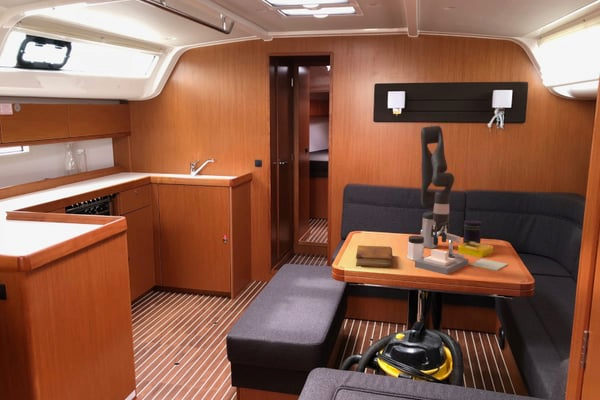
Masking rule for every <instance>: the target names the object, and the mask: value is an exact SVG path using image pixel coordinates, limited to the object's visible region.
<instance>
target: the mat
mask: <svg viewBox="0 0 600 400" xmlns="http://www.w3.org/2000/svg"><path fill="white" fill-rule="evenodd" d="M469 266H471V267H475V268H479V269H480V268H481V269H486V270H491V271H496V272H498V271H500V270H501V269H503V268H505V267H507V266H508V263H505V262H500V261H495V260H492V259H490V260H489V259H486V258H485V259H484V258H480V259H478V260H476V261H474V262H471V263H469Z"/></svg>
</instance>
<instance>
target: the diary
mask: <svg viewBox="0 0 600 400" xmlns="http://www.w3.org/2000/svg"><path fill="white" fill-rule="evenodd" d="M393 257H394V256H393V248H392V247H391V246H384V245H381V246H379V245H361V244H360V245H357V249H356V256H355V259H356V263H355V267H359V266H361V267H363V268H364V267H365V268H382V269H393V267H394V258H393Z"/></svg>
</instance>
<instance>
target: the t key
mask: <svg viewBox="0 0 600 400" xmlns="http://www.w3.org/2000/svg"><path fill="white" fill-rule="evenodd" d="M446 240H448V255H449V256H452V255H453V256H457V257H461V258H465V254H462V253H458V252H455V251H454V248H453V247H454V242H455V243H458V242H459V243H460V242H461V236H458V235H456V234H451V233H450V232H449V233H447V236H446Z"/></svg>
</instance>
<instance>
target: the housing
mask: <svg viewBox="0 0 600 400" xmlns="http://www.w3.org/2000/svg"><path fill="white" fill-rule="evenodd" d="M428 256H431V254H430V255H428ZM428 256H424V258H426V257H428ZM424 258H422V259H419V260H417V261H414V267H415V268H418V269H422V270H425V271H426V270H427V271H431V272H434V273H439V274H443V275H446V276H447V275H450V274H452V273H454V272H456V271H458V270H460V269H462V268H464V267H466V266H469V261H470V258H465V257H464V258H461V257H458V256H455V255H452V256H449V255H448V258H453V259H455V262H453V263H451V264H448V265H446V266H443V265H439V264H435V263H430V262H426V261H424Z"/></svg>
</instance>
